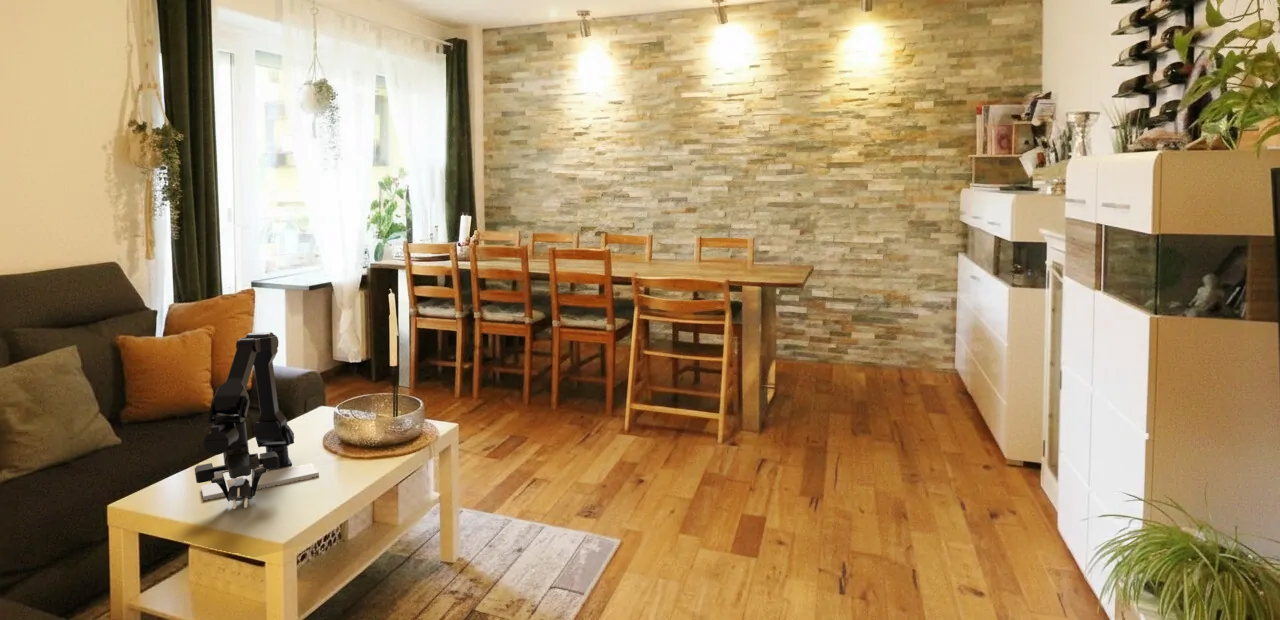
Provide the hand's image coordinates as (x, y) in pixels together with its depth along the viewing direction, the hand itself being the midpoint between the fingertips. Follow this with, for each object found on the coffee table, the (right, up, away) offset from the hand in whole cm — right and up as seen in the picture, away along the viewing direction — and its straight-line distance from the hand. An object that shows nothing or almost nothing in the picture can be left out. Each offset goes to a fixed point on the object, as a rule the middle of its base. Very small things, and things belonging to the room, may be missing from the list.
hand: (241, 498), depth 196 cm
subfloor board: (-1, +1, +13) cm, 13 cm away
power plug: (0, -1, +2) cm, 2 cm away
